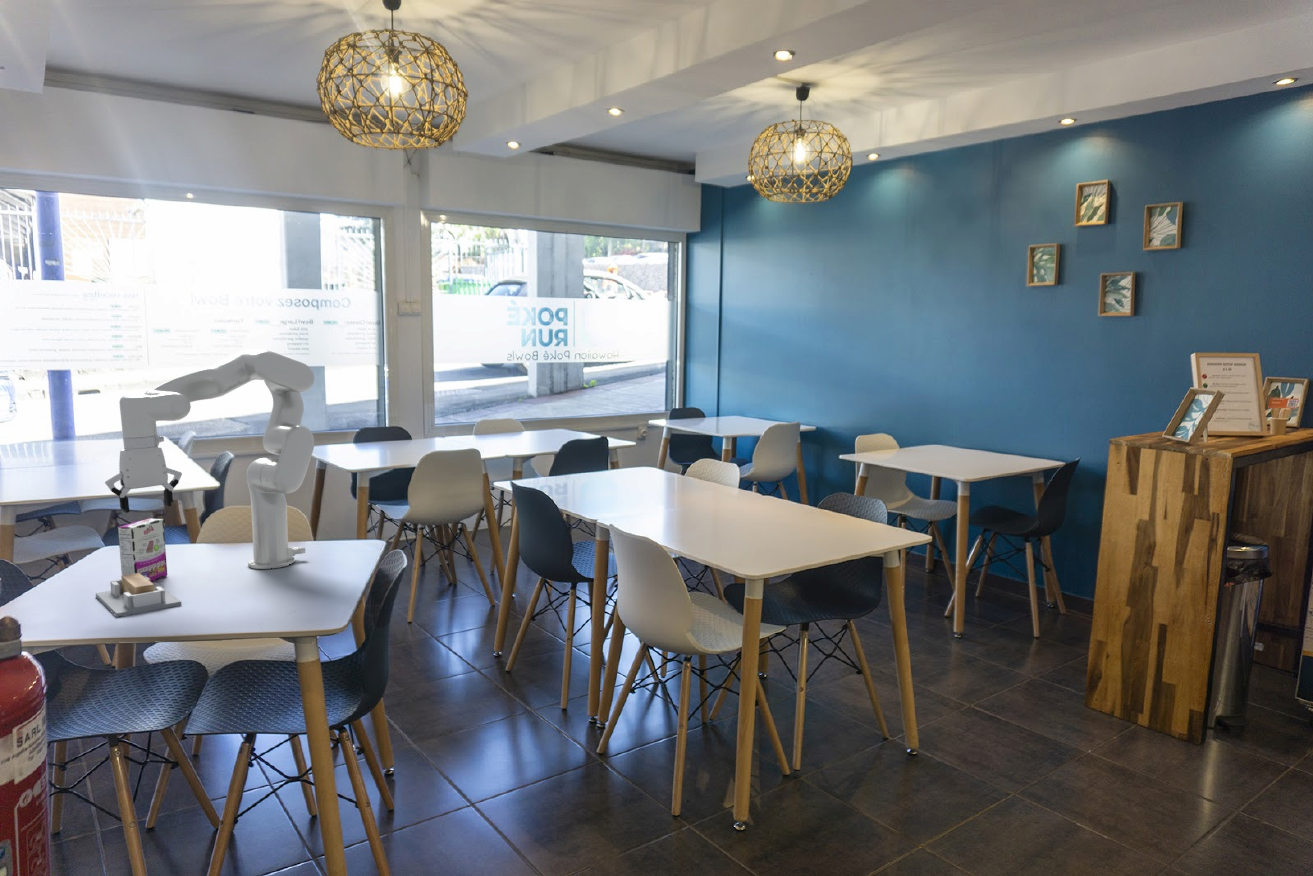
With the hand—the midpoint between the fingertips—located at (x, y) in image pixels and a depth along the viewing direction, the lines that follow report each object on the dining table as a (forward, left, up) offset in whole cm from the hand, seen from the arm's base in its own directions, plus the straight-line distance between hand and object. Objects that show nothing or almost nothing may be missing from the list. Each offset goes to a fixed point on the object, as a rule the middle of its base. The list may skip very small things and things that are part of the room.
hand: (147, 508), depth 221 cm
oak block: (+4, +5, -22) cm, 23 cm away
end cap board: (+4, +5, -23) cm, 24 cm away
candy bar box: (-2, -14, -23) cm, 27 cm away
